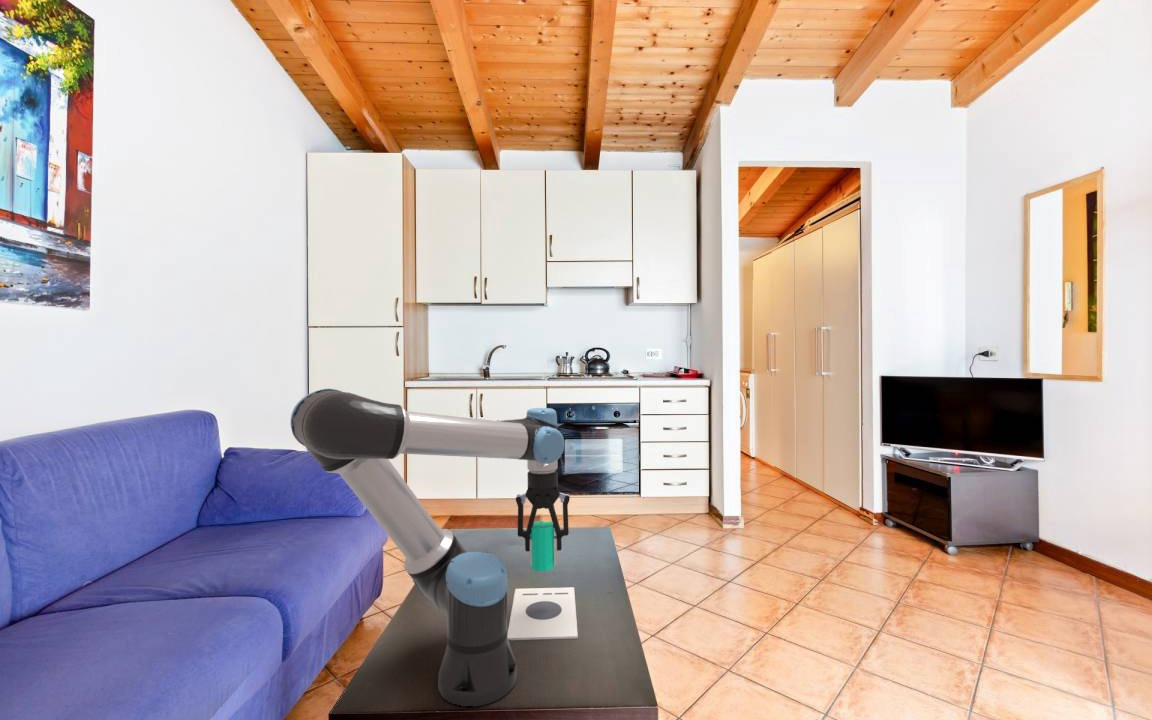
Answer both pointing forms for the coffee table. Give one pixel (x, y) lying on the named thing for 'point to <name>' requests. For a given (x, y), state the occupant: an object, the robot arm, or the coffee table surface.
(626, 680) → the coffee table surface
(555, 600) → the paper pad
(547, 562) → the candle
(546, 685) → the coffee table surface
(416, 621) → the coffee table surface
